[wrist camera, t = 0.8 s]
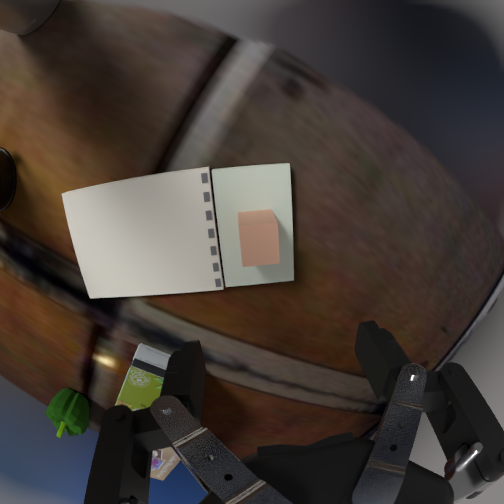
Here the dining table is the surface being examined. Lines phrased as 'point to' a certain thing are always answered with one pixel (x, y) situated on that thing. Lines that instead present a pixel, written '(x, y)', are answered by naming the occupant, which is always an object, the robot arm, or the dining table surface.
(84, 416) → the bell pepper
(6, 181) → the french press
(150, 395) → the tea box
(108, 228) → the white notebook
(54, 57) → the dining table surface
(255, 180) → the stub
